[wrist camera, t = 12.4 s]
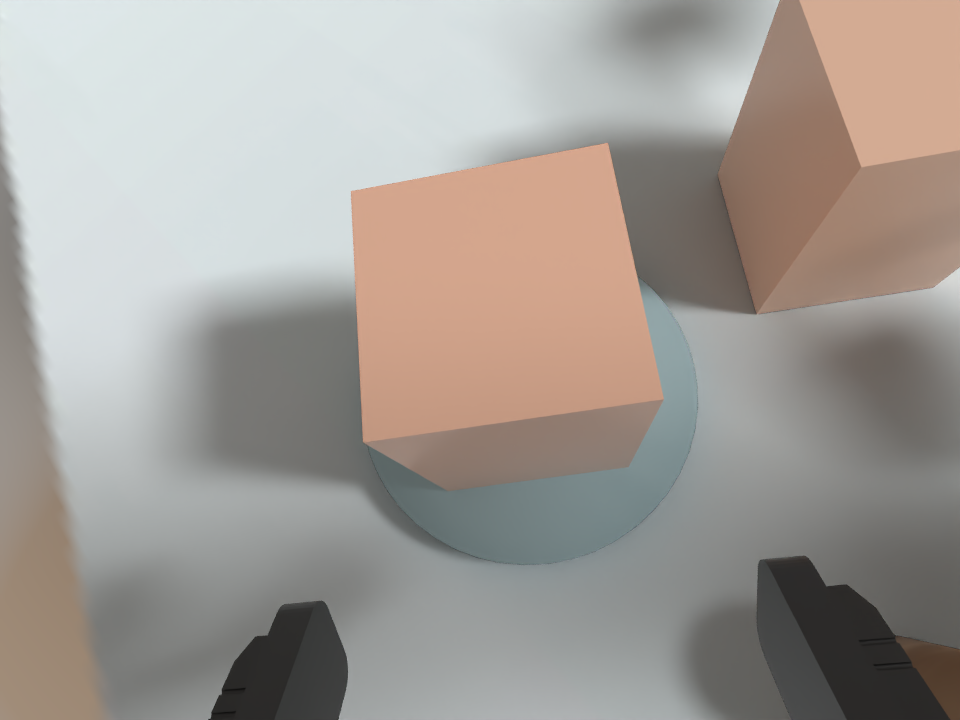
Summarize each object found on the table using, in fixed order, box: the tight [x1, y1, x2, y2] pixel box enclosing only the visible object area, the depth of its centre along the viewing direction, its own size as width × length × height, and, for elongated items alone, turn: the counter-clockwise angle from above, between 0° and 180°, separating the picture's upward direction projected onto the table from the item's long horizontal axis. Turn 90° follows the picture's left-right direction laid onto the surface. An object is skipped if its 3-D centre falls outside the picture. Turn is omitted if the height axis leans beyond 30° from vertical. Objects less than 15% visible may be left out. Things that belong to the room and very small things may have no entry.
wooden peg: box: [895, 636, 960, 720], centre depth 16 cm, size 4×4×4 cm
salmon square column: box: [718, 0, 960, 314], centre depth 19 cm, size 6×6×9 cm
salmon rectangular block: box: [351, 143, 664, 491], centre depth 18 cm, size 6×6×9 cm
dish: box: [368, 276, 698, 565], centre depth 23 cm, size 12×12×1 cm
